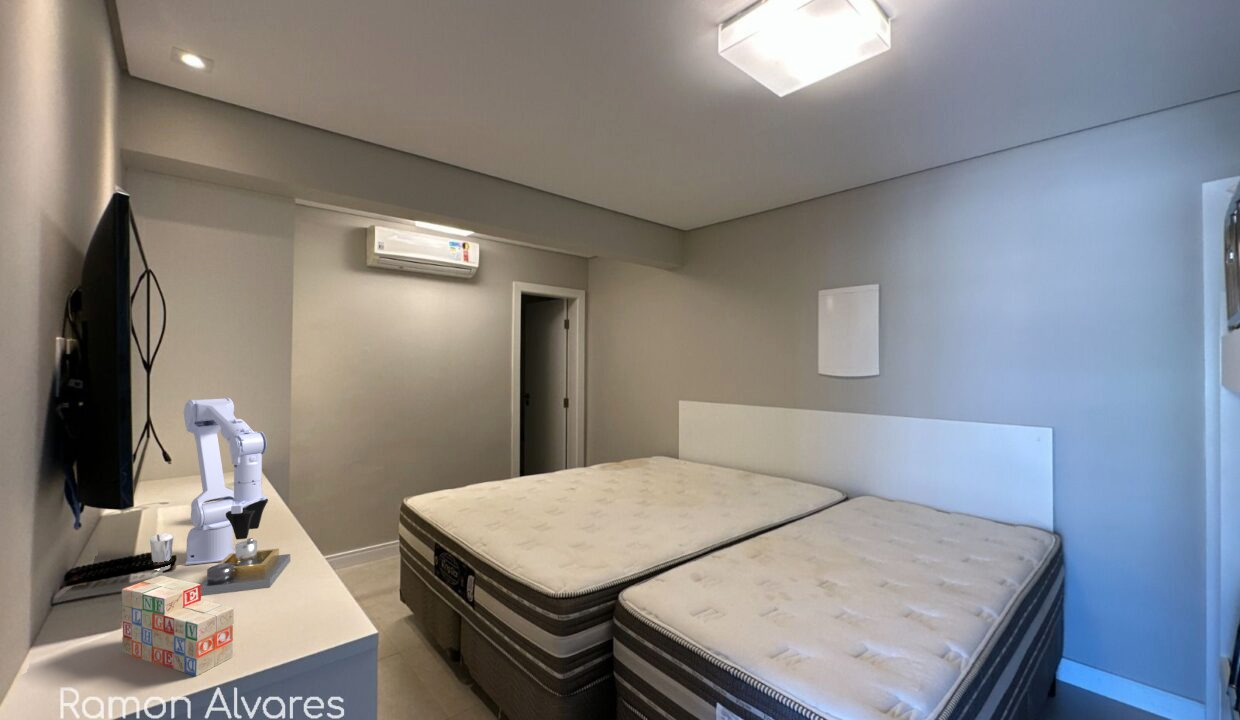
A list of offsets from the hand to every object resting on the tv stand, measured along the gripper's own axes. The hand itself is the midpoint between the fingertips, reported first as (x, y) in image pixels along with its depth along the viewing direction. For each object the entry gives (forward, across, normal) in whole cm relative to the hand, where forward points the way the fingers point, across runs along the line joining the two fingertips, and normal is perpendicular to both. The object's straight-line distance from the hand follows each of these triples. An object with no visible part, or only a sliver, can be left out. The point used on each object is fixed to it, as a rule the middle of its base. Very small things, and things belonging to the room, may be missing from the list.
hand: (247, 533), depth 127 cm
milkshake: (+11, +10, +22) cm, 26 cm away
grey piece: (+10, -2, -1) cm, 11 cm away
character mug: (+11, +48, +20) cm, 53 cm away
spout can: (+8, 0, 0) cm, 8 cm away
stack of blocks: (+11, -36, -1) cm, 38 cm away
